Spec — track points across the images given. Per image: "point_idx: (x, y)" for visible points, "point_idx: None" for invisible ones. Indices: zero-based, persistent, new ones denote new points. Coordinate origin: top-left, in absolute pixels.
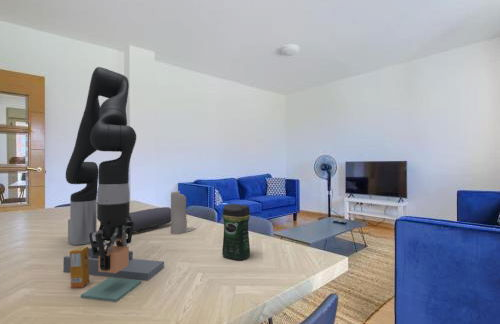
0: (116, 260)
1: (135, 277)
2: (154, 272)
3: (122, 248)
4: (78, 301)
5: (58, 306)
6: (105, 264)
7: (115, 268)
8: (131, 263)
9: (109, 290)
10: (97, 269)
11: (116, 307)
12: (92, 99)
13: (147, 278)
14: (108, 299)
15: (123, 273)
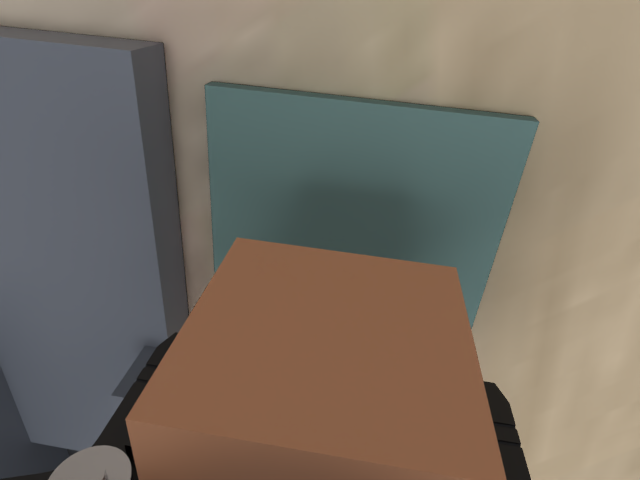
0: (471, 370)
1: (168, 166)
2: (40, 34)
3: (237, 474)
4: (502, 345)
5: (548, 402)
6: (507, 430)
7: (460, 303)
8: (27, 288)
9: (397, 243)
10: None
11: (627, 67)
12: None
13: (155, 48)
14: (513, 188)
15: (168, 271)
